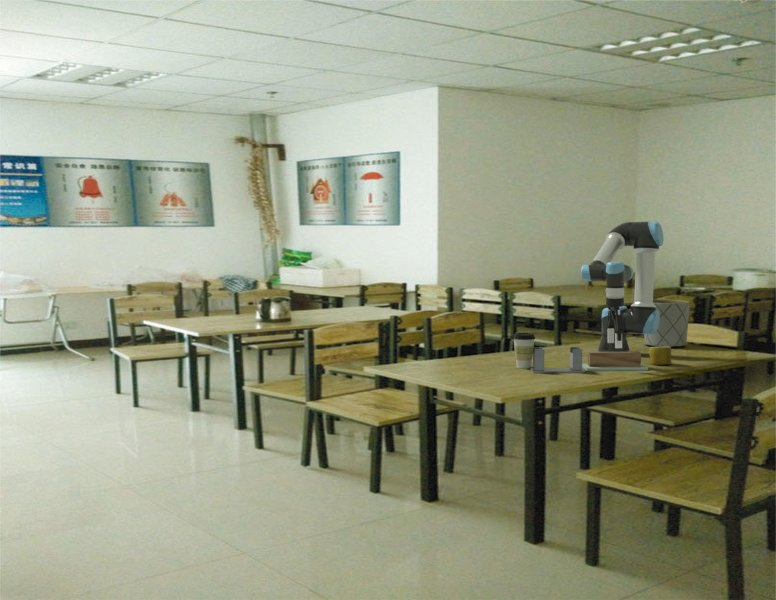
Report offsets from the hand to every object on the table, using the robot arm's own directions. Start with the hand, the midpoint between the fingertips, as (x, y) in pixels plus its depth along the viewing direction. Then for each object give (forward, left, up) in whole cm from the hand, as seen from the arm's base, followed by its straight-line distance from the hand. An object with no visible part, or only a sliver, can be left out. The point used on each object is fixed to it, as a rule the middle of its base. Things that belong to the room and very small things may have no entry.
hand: (614, 345), depth 331 cm
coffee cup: (-3, -39, -10) cm, 41 cm away
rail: (0, 0, -9) cm, 9 cm away
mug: (-11, +23, -10) cm, 27 cm away
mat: (0, 0, -10) cm, 10 cm away
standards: (+7, -26, -10) cm, 29 cm away
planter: (-66, +43, -10) cm, 79 cm away
